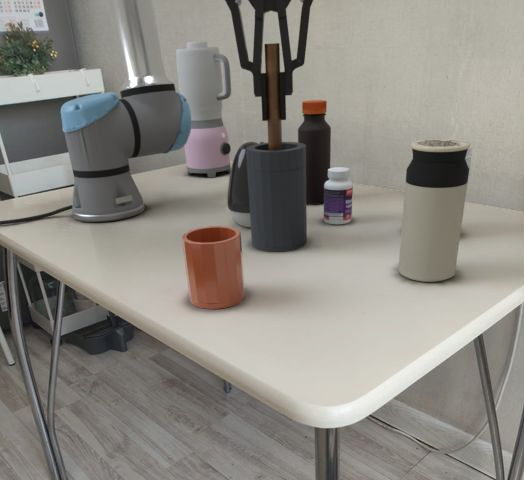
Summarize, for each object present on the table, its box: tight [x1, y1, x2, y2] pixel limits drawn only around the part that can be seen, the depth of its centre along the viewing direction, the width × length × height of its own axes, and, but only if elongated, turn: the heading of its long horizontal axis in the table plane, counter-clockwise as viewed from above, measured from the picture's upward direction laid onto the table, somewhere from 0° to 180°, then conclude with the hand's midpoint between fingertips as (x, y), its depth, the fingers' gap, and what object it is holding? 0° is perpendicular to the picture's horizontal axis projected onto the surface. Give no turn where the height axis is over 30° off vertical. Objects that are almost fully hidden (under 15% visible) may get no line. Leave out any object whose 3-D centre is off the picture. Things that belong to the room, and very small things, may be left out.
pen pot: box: [181, 225, 246, 310], centre depth 72 cm, size 8×8×9 cm
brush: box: [264, 42, 283, 150], centre depth 84 cm, size 4×4×24 cm
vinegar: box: [297, 99, 332, 205], centre depth 112 cm, size 7×7×20 cm
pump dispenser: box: [226, 141, 265, 229], centre depth 100 cm, size 10×10×15 cm
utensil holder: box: [246, 141, 308, 253], centre depth 89 cm, size 10×10×16 cm
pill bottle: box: [323, 166, 354, 225], centre depth 101 cm, size 5×5×10 cm
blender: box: [175, 40, 232, 178], centre depth 141 cm, size 16×12×32 cm
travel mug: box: [397, 138, 472, 283], centre depth 74 cm, size 8×8×18 cm
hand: (274, 119), depth 84 cm, fingers closed on brush, 2 cm apart
